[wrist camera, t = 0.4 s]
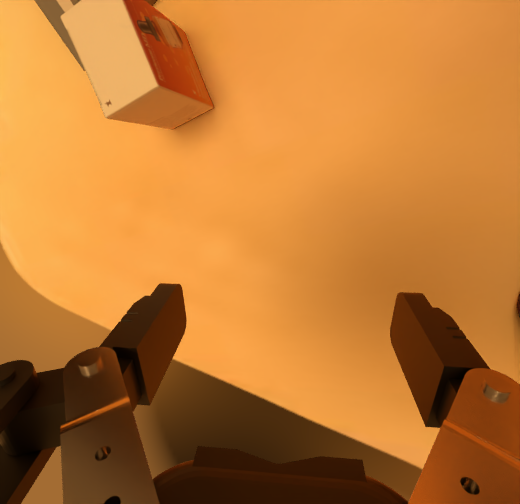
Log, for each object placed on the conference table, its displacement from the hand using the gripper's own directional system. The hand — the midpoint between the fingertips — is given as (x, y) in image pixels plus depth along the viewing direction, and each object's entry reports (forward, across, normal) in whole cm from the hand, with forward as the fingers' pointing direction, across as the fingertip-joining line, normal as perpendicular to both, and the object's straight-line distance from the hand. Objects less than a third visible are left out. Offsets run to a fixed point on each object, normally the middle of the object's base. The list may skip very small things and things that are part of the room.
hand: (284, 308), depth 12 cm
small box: (+27, +12, -9) cm, 31 cm away
